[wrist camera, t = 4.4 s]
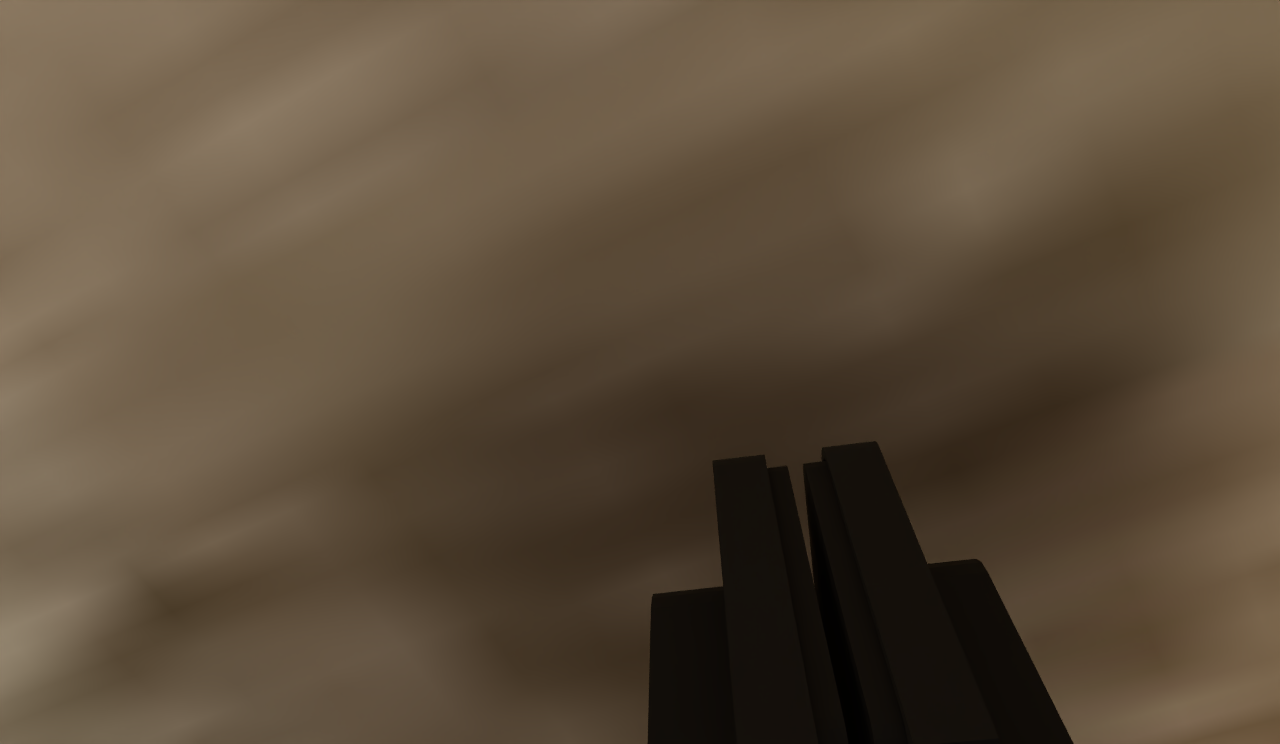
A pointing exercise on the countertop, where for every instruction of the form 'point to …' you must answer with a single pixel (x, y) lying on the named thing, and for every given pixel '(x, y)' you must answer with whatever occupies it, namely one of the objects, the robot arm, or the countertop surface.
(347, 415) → the countertop surface
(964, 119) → the countertop surface
